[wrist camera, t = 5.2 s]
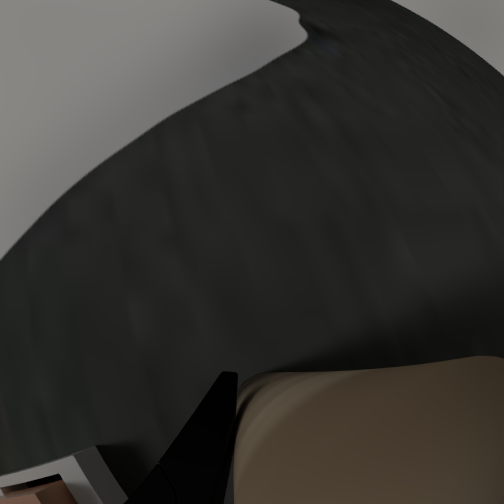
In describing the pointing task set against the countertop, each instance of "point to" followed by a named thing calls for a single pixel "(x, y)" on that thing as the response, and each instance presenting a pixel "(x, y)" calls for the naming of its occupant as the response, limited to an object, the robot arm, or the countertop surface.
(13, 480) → the keypad
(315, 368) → the countertop surface
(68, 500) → the terracotta key
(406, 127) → the countertop surface
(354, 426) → the tan banded cylinder
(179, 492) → the robot arm
